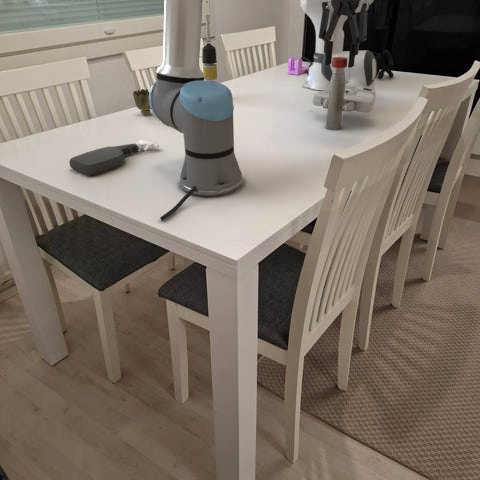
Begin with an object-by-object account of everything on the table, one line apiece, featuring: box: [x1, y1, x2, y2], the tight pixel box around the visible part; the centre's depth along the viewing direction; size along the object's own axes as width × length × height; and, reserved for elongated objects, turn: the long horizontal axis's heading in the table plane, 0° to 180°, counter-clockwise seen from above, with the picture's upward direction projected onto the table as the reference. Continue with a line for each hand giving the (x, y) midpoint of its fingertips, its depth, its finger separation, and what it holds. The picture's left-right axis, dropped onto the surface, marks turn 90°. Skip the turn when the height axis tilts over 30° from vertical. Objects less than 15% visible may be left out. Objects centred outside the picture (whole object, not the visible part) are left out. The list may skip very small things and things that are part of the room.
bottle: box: [325, 68, 347, 131], centre depth 140 cm, size 5×5×20 cm
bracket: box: [287, 57, 309, 76], centre depth 217 cm, size 13×6×7 cm, turn 143°
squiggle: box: [370, 49, 394, 80], centre depth 203 cm, size 11×10×15 cm
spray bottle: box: [68, 139, 160, 177], centre depth 124 cm, size 3×11×24 cm
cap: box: [332, 57, 348, 68], centre depth 135 cm, size 4×4×2 cm
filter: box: [201, 14, 218, 82], centre depth 171 cm, size 6×6×30 cm
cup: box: [132, 88, 152, 116], centre depth 160 cm, size 8×7×8 cm
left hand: (339, 65), depth 136 cm, fingers open, 7 cm apart
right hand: (334, 107), depth 141 cm, fingers closed on bottle, 5 cm apart
